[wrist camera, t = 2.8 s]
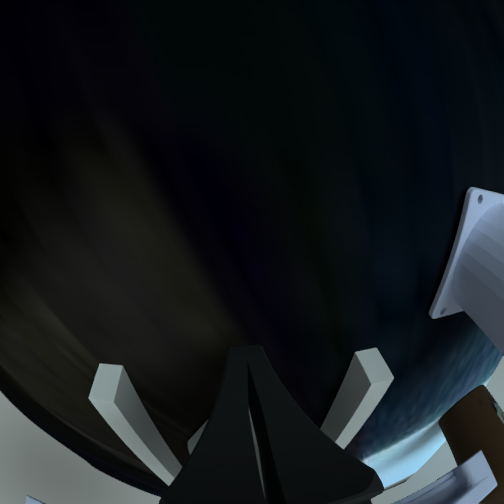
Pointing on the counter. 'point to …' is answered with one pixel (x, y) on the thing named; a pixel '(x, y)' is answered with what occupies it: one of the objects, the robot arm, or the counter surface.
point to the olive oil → (478, 435)
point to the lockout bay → (163, 460)
